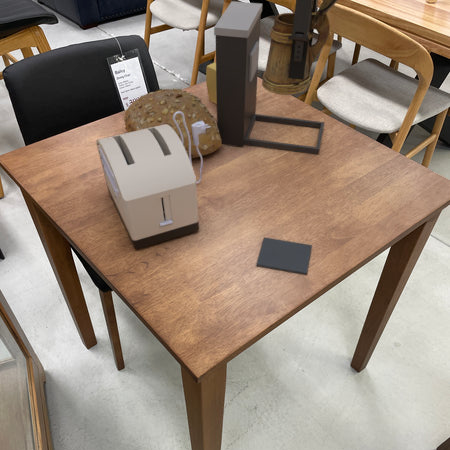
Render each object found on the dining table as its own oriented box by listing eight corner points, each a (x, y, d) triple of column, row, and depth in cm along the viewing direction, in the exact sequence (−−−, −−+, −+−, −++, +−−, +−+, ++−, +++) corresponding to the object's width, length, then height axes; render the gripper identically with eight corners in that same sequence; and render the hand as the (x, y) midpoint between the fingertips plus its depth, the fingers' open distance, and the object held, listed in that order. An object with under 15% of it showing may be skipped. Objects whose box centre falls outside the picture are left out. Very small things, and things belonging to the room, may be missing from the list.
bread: (119, 130, 119) (110, 85, 109) (191, 112, 125) (188, 68, 116) (151, 177, 105) (144, 131, 96) (230, 154, 111) (230, 109, 102)
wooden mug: (334, 97, 81) (356, -20, 67) (261, 94, 81) (267, -22, 67) (331, 75, 86) (351, -37, 72) (262, 73, 87) (269, -38, 73)
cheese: (232, 89, 134) (232, 54, 126) (257, 102, 128) (258, 66, 121) (206, 100, 129) (205, 65, 121) (231, 114, 124) (231, 78, 116)
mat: (311, 247, 90) (311, 245, 90) (306, 275, 85) (307, 272, 85) (263, 239, 91) (263, 237, 91) (256, 266, 87) (256, 264, 86)
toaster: (105, 190, 102) (86, 120, 88) (204, 165, 108) (200, 95, 95) (134, 255, 89) (117, 183, 75) (244, 221, 95) (248, 150, 82)
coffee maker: (324, 124, 121) (345, 10, 99) (317, 157, 110) (339, 38, 89) (230, 113, 125) (231, 1, 103) (216, 144, 114) (214, 27, 93)
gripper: (303, -109, 70) (288, 45, 88) (282, -82, 58) (269, 91, 76) (351, -107, 69) (325, 49, 87) (339, -79, 57) (312, 96, 75)
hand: (299, 68), depth 81 cm, fingers closed on wooden mug, 7 cm apart
